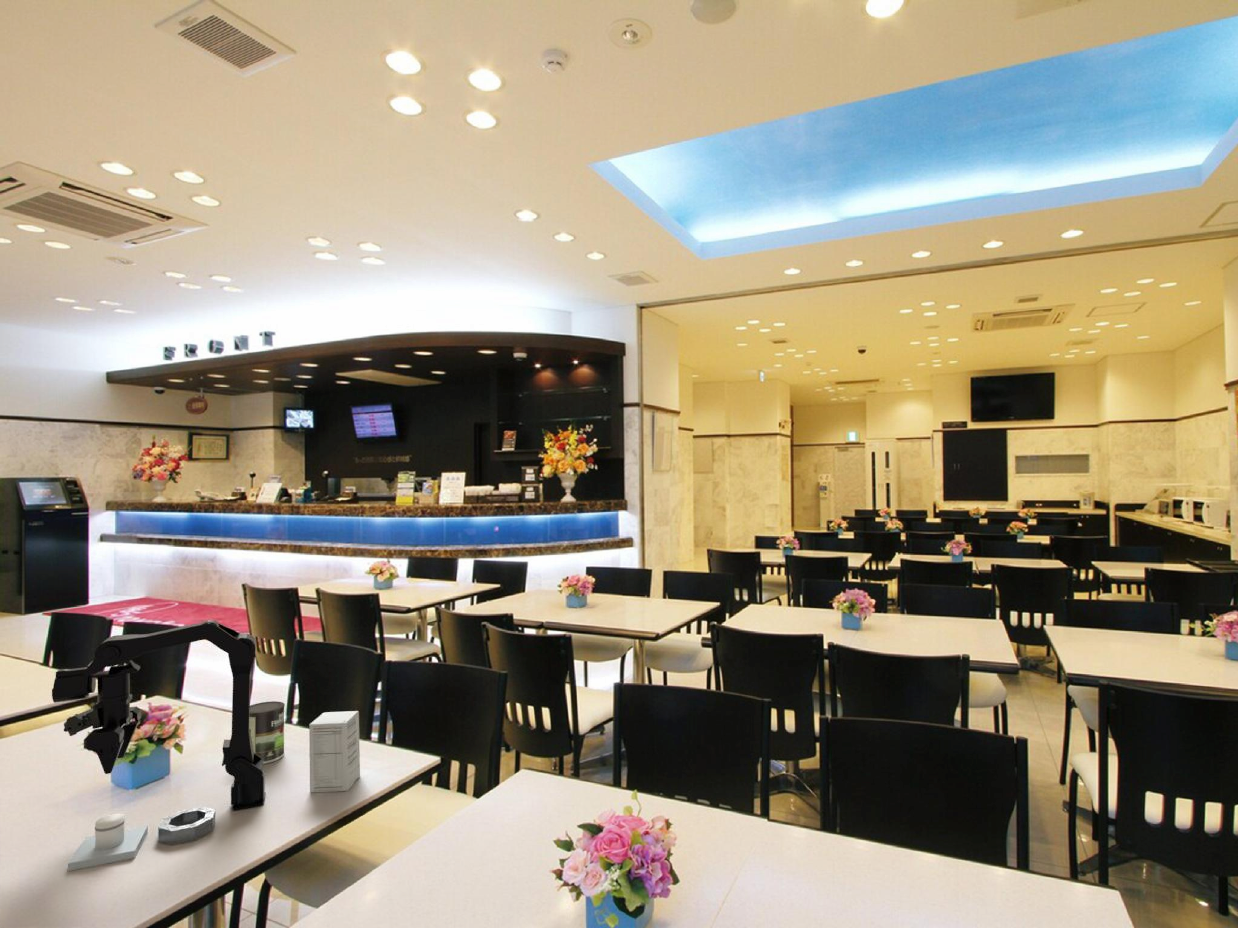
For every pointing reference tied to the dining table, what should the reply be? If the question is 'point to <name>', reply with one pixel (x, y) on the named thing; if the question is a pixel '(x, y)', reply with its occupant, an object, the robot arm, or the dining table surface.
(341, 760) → the supplement box
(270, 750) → the coffee can
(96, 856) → the piston base
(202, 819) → the steel ring
